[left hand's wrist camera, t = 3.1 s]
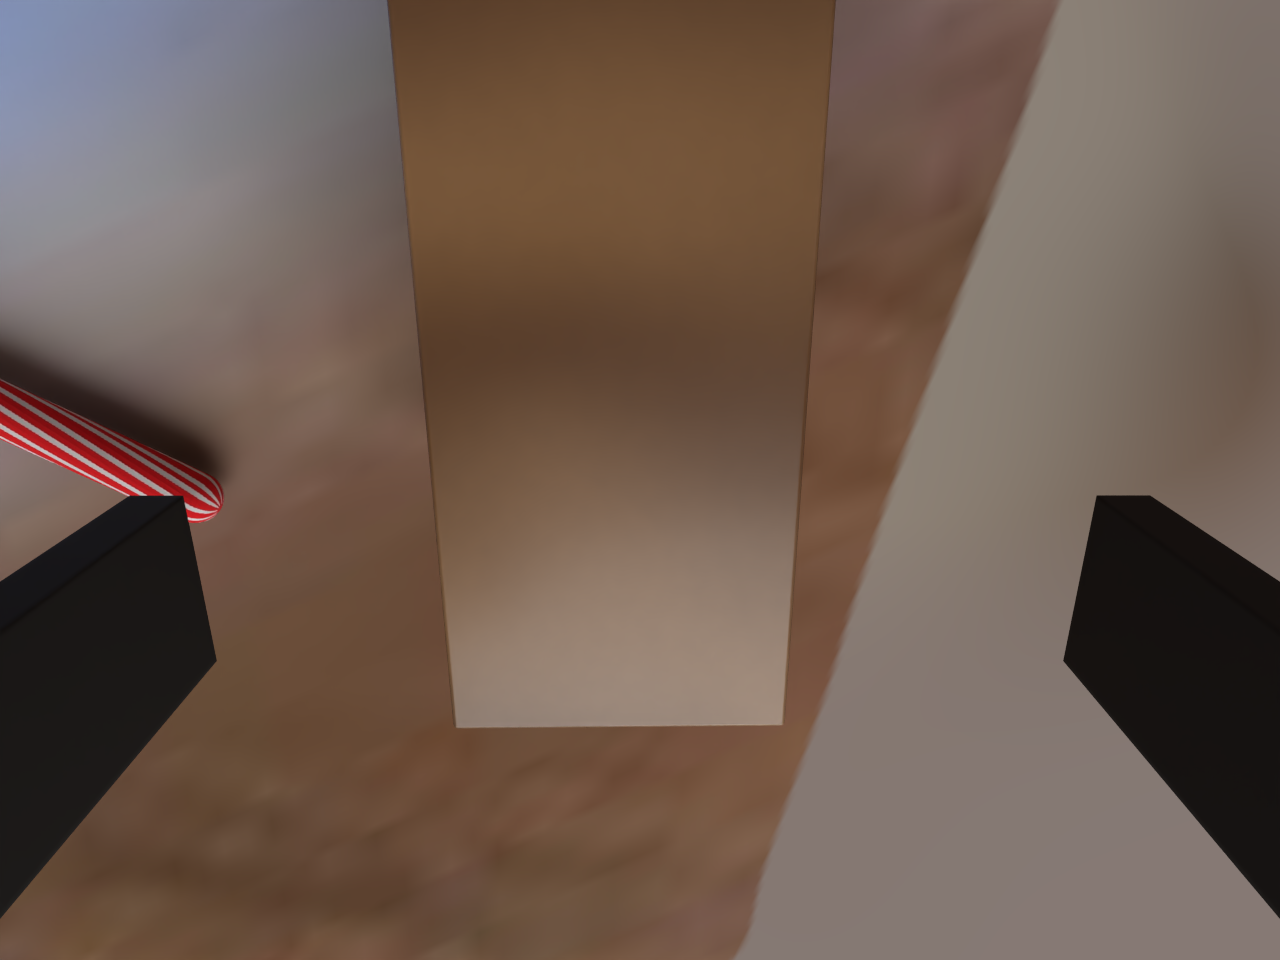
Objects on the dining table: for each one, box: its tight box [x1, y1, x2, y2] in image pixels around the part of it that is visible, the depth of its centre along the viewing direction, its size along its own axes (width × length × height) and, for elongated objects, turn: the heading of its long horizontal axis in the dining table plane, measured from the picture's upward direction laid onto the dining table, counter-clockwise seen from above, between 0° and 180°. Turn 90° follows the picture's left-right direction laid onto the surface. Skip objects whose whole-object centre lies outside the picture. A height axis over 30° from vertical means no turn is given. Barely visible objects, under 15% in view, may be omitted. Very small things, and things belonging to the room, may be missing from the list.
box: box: [387, 0, 836, 728], centre depth 16 cm, size 21×6×10 cm, turn 0°
